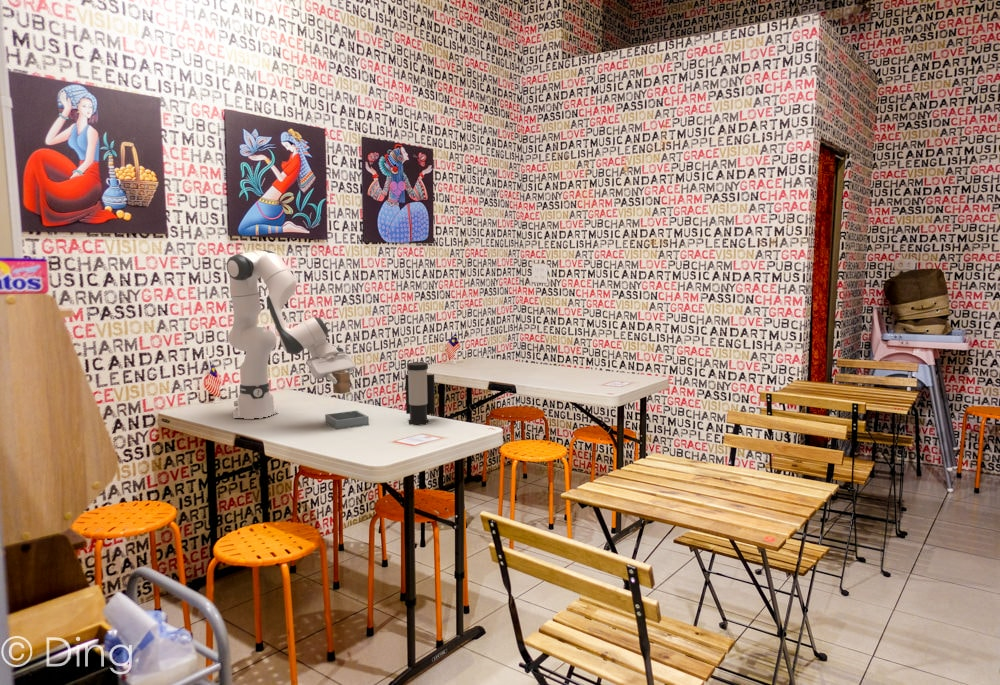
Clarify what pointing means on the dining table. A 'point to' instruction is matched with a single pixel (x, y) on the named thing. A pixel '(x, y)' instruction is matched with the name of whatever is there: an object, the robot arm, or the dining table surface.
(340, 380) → the walnut block
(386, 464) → the dining table surface
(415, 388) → the light fixture
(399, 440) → the dining table surface
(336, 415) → the tray
